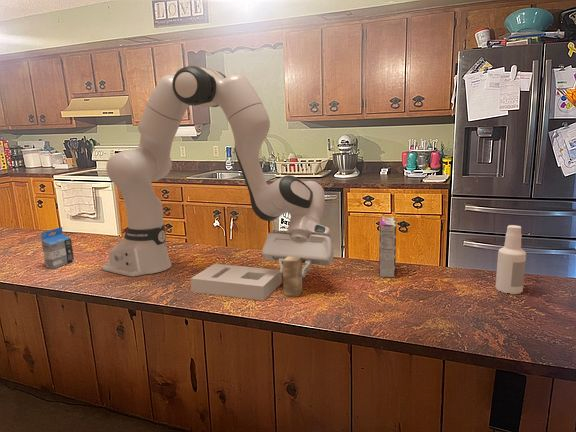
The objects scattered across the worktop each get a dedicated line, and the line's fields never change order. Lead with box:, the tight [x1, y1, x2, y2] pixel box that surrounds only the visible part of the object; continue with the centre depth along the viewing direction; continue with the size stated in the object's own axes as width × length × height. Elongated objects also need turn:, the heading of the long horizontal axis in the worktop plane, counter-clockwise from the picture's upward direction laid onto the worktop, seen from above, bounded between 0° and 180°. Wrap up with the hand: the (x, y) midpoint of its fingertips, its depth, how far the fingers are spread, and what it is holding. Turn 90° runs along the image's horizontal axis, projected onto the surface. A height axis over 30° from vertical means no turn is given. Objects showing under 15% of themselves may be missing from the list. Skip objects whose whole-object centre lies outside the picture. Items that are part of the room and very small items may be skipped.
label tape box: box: [40, 226, 75, 270], centre depth 153 cm, size 9×4×12 cm, turn 160°
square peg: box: [282, 256, 303, 298], centre depth 123 cm, size 4×4×10 cm
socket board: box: [190, 263, 283, 302], centre depth 129 cm, size 22×14×4 cm, turn 71°
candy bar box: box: [378, 216, 397, 278], centre depth 139 cm, size 11×5×16 cm, turn 168°
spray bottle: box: [494, 224, 527, 295], centre depth 122 cm, size 7×7×18 cm
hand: (292, 275), depth 123 cm, fingers closed on square peg, 4 cm apart
